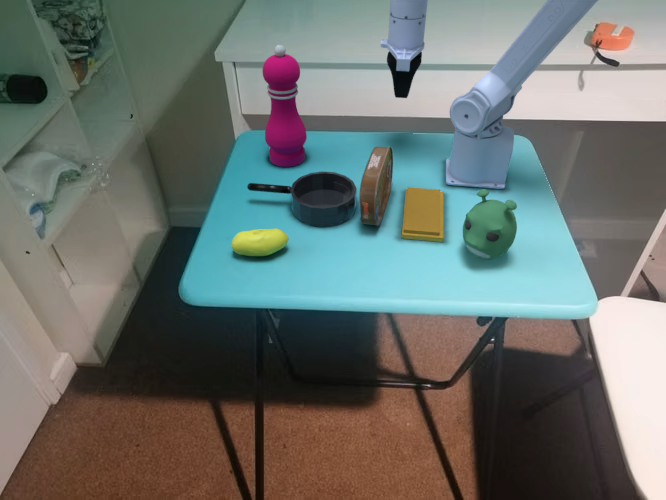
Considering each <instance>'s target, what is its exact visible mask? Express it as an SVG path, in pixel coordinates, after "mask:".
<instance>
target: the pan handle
mask: <svg viewBox="0 0 666 500" xmlns="http://www.w3.org/2000/svg"><path fill="white" fill-rule="evenodd" d="M246 187H247V190H248V191H250V192H261V193H262V192H263V193H264V192H265V193H273V194H287V195H289V194H290V189H291V187H292V186H290V185H282V184H268V183H259V182H258V183H256V182H249V183H248V184H247V186H246ZM290 195H291V194H290Z"/></svg>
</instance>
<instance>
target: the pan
mask: <svg viewBox="0 0 666 500" xmlns="http://www.w3.org/2000/svg"><path fill="white" fill-rule="evenodd" d="M290 187H291V189H290V207H291V212H292V214H293V216H294V217H295V218H296V219H297V220H298V221H300V222H301V223H303V224H306V225H309V226H311V227H317V228H318V227H319V228H329V227H334V226H339V225H342V224H344V223H346V222H348V221H349V220H350V219H351V218H352V217H353V216H354V215H355V212H356V209H357V190H358V189H357V186H356V184H355V182H354V181H353V180H352V179H351V178H350V177H348V176H346V175H345V174H341V173H338V172H335V171H316V172H310V173H307V174H304V175H302V176H300V177H299V178H297V179H296V180H295V181H294V182H292V185H291V186H290Z"/></svg>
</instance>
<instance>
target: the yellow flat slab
mask: <svg viewBox="0 0 666 500" xmlns="http://www.w3.org/2000/svg"><path fill="white" fill-rule="evenodd" d="M403 207H404V208H403V216H402V227H401V239H403V240H404V239H405V240H415V241H427V242H435V243H437V242H438V243H443V242H444V233H445V231H444V229H445V228H444V225H445V224H444V191H441V189H436V188H435V189H434V188H423V187H410V186H408V187H407V188H405V194H404V206H403Z"/></svg>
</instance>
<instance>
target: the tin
mask: <svg viewBox="0 0 666 500" xmlns="http://www.w3.org/2000/svg"><path fill="white" fill-rule="evenodd" d="M393 169H394V152H393V147H392V146H374V147H373V148H372V150H371V152H370V156H369V158H368V160H367V163H366V166H365V169H364V171H363V174H362V177H361V181H360V186H359V195H358V196H359V197H358V201H359V202H358V203H359V209H360V210H359V211H360V218H359V220H360V222H361V223H362V224H364V225H371V226H376V227H379V226H380V225H381V223H382V220H383V218H384V214H385V210H386V207H387V204H388V201H389V198H390V195H391V190H392V184H393V172H394V170H393Z"/></svg>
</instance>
